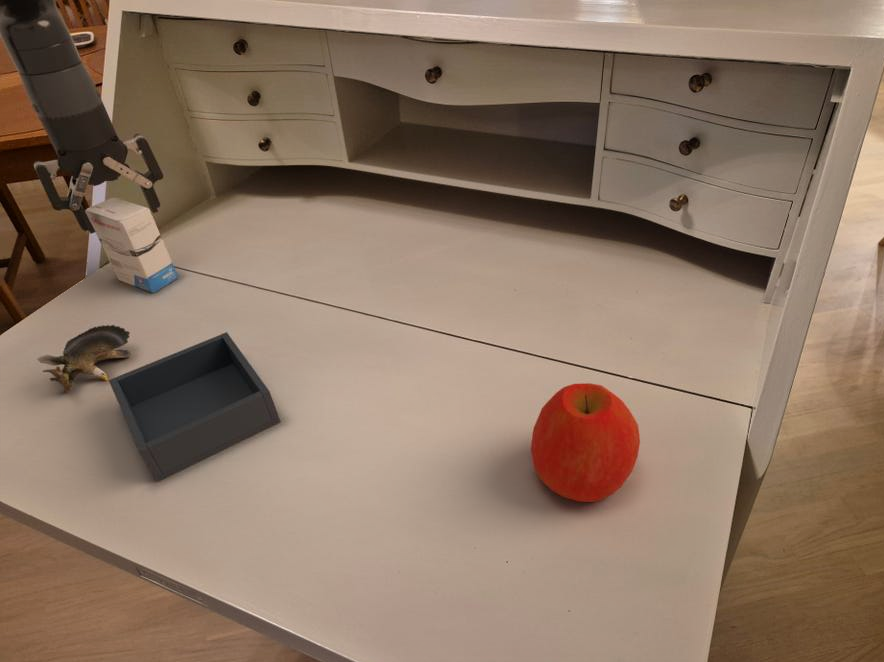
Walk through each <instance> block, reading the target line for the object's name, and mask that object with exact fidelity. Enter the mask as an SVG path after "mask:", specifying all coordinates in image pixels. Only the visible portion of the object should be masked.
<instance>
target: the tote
mask: <svg viewBox="0 0 884 662" xmlns="http://www.w3.org/2000/svg"><path fill="white" fill-rule="evenodd" d="M108 382H109V384H110V387H111V389H112V391H113V394H114V396H115V399H116V401H117V404H118V405H119V408H120V410H121V412H122V415H123V417H124V419H125V423H126V424H127V426H128V429H129V431H130V435H131V436H132V439H133V441H134V443H135V446H136V448H137V450H138V452H139V454H140V456H141V458H142V459H143V460H144V463H145V464H146V466H147V468H148V469H149V472H151V474H152V476H153V477H154V479H155V481H156V482H157V483H159V482H161V481H163V480H165V479H167V478H169V477H171V476H173V475H175V474H178V473H179V472H181V471H184V470H185V469H188V468H190V467H192V466H194V465H196V464H198V463H201V462H202V461H204V460H207V459H209V458H210V457H213V456H214V455H216V454H219V453H221V452H223V451H225V450H227V449H229V448H231V447H233V446H236V445H237V444H239V443H242V442H243V441H245V440H247V439H249V438H252V437H253V436H256V435H257V434H260V433H261V432H263V431H266V430H269V429H270V428H272V427H275V426H276V425H278V424H280V423H281V422H282V421H281V419H280V416H279V413H278V411H277V408H276V405H275V402H274V400H273V397H272V394H271V391H270V389H269V388H268V387H267V385H266V384H265V383H264V381H263V380H262V379H261V377H260V375H258V373H257V372H256V370H255V369H254V368H253V366H252V365H251V363H250V362H249V361H248V359H247V357H246V356H245V355H244V354H243V352H242V351H241V350H240V348H239V347H238V346H237V344H236V343H235V341H234V340H233V339H232V337H231V336H230V335H229V333H228V332H227V331H226V332H223V333H220V334H218V335H216V336H213V337H211V338H209V339H207V340H203V341H202V342H198V343H197V344H193V345H192V346H189V347H187V348H184V349H182V350H179V351H176V352H175V353H172V354H169V355H167V356H164V357H162V358H159V359H157V360H154V361H151V362H149V363H148V364H147V363H146V364H145V365H142V366H139V367H137V368H135V369H133V370H130V371H127V372H125V373H123V374H120V375H117V376H115V377H113V378H111V379H108Z"/></svg>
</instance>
